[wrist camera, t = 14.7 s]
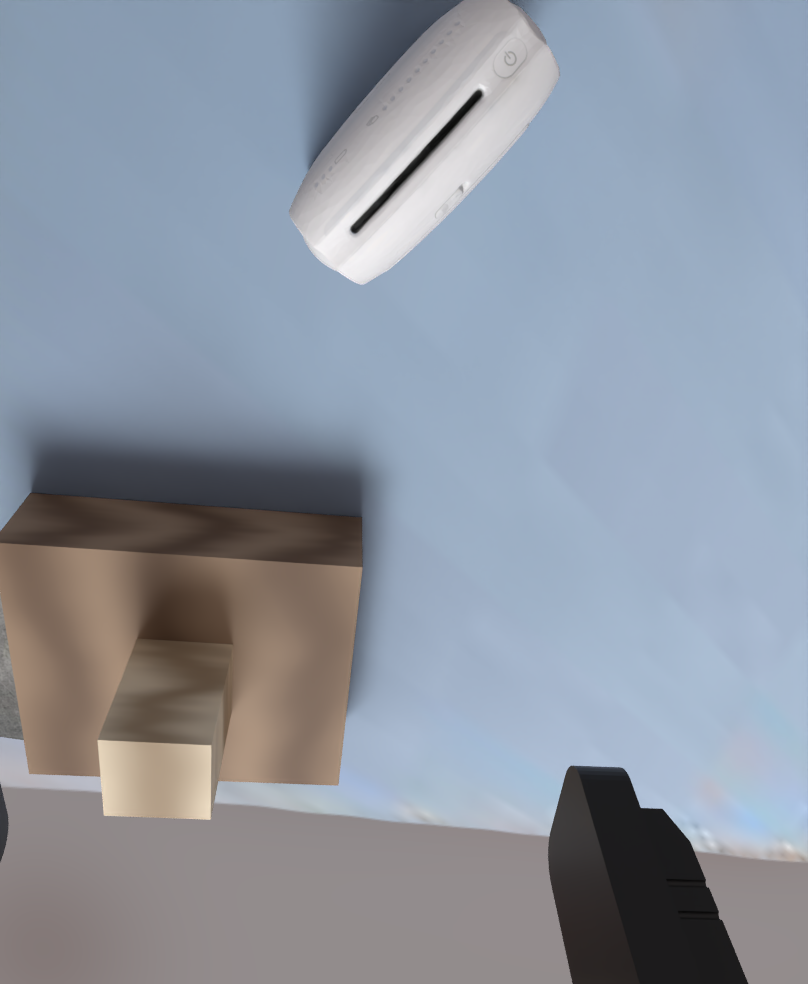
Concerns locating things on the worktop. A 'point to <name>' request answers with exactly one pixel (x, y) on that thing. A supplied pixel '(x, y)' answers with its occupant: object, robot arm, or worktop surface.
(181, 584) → the walnut base
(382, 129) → the photo printer
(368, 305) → the worktop surface
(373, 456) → the worktop surface
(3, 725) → the meat cleaver
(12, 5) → the worktop surface
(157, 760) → the beech block
